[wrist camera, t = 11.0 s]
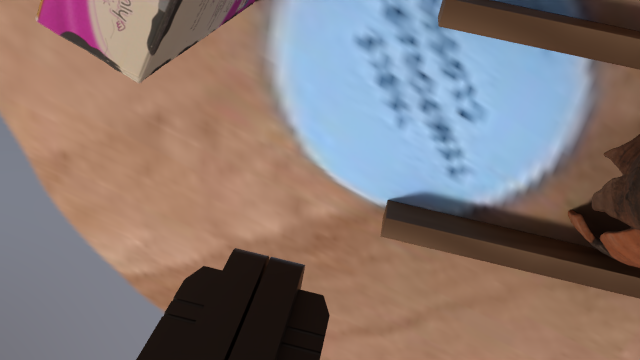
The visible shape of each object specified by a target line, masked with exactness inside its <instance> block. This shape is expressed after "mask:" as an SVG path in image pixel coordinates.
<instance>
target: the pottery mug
mask: <svg viewBox="0 0 640 360" xmlns="http://www.w3.org/2000/svg"><path fill="white" fill-rule="evenodd" d="M604 156H605V157H608V158H609V159H610V160H612V161H613V163H614V164H615V165H616V166H617V167H618V168H619V170H620V171H621V172H622V174H623V176H622V177H618V178H613V179H612V180H610V181H609V182H607V183H606V184H605V185H604V186H603V188H602V189H601V190H600V191H598V192H596V193H595V194H594V195H593V197H592V208H593V210H595V211H601V212H606V213H607V214H608V215H610V216H611V217H613V218H616V219H619V220H620V221H622V222H624V223H626V224H628V225H629V226H631V228H629V229H627V230H623V231H608V232H605V233H603V234H602V235H601V237H600V239H599V238H597V237H595V236H594V235H593V234H592V232H591V231H590V229H589V228H588V226H587V224H586V222H585V220H584V218H583V216H582V215H581V214H577V213H576V212H575V211H573V210H570V211H568V216H569V218H570V220H571V222H572V224H573V225H574V227H575V228H576V229H577V230H578V231H579V232H580V233H581V234H582V235H583V237H584V238H585V239H586V240H587V241H589V243H590V244H591V245H592V246H593V247H595V248H596V249H598V250H599V251H601V252H602V253H604V254H606V255H608V256H610V257H611V258H613V259H616V260H618V261H620V262H622V263H624V264H627V265H629V266H634V267H638V268H640V134H639V135H638V136H637V137H636V138H634V139H633V140H631V141H630V142H628V143H626V144H624V145H622V146H620V147H617V148H613V149H611V150H609V151H607V152H605V153H604Z"/></svg>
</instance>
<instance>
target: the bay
mask: <svg viewBox="0 0 640 360" xmlns="http://www.w3.org/2000/svg"><path fill="white" fill-rule="evenodd" d="M438 23H439V27H444V28H449V29H453V30H458V31H463V32H467V33H472V34H477V35H481V36H486V37H491V38H495V39H500V40H505V41H509V42H514V43H519V44H523V45H528V46H533V47H537V48H542V49H547V50H551V51H556V52H561V53H565V54H570V55H575V56H579V57H584V58H588V59H593V60H598V61H602V62H607V63H612V64H616V65H621V66H626V67H630V68H635V69H640V32H639V31H635V30H630V29H625V28H620V27H616V26H611V25H606V24H601V23H597V22H592V21H587V20H582V19H578V18H573V17H568V16H564V15H559V14H554V13H549V12H545V11H540V10H535V9H530V8H526V7H521V6H516V5H511V4H507V3H502V2H497V1H492V0H443V1H442V4H441V8H440V12H439V15H438ZM381 237H385V238H389V239H394V240H398V241H402V242H406V243H410V244H414V245H419V246H423V247H427V248H431V249H435V250H440V251H444V252H448V253H452V254H456V255H460V256H465V257H469V258H473V259H477V260H481V261H485V262H490V263H494V264H498V265H502V266H506V267H511V268H515V269H519V270H523V271H527V272H531V273H536V274H540V275H544V276H548V277H552V278H556V279H561V280H565V281H569V282H573V283H577V284H581V285H586V286H590V287H594V288H598V289H602V290H607V291H611V292H615V293H619V294H623V295H627V296H632V297H636V298H640V268H638V267H634V266H629V265H627V264H624V263H622V262H620V261H618V260H616V259H613V258H611V257H610V256H608V255H606V254H604V253H602V252H601V251H599V250H598V249H594V248H590V247H585V246H581V245H577V244H573V243H568V242H564V241H560V240H556V239H551V238H547V237H543V236H539V235H534V234H530V233H526V232H522V231H517V230H513V229H509V228H505V227H500V226H496V225H492V224H488V223H483V222H479V221H475V220H471V219H466V218H462V217H458V216H454V215H449V214H445V213H441V212H437V211H432V210H428V209H424V208H420V207H415V206H411V205H407V204H403V203H398V202H394V201H390V200H388V202H387V205H386V209H385V213H384V216H383V222H382V230H381Z"/></svg>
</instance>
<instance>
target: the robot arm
mask: <svg viewBox="0 0 640 360" xmlns="http://www.w3.org/2000/svg"><path fill="white" fill-rule="evenodd" d="M304 269H305V265H303V264H299V263H295V262H290V261H286V260H282V259H278V258H274V257H271V258H270V260H269V256H265V255H261V254H257V253H253V252H249V251H245V250H241V249H237V248H235V249H234V250H233V252H232V253H231V255H230V257H229V259H228V261H227V263H226V265H225V267H224V269H223V271H222V270H218V269H214V268H210V267H206V266H203V267H202V268H200V269H199V270H197V271H196V272H195V273H193V274H192V275H190V276H189V277H187V278H186V279H185V280H184V281H183V283H182V285H181V286H180V288H179V290H178V291H177V293H176V295H175V296H174V299H173V301H171V303H170V305H169V306H168V308H167V310H166V311H165V314H164V316H163V317H162V318H161V320H160V321H159V323H158V325H157V326H156V328H155V330H154V331H153V333H152V335H151V336H150V338H149V339H148V341H147V343H146V344H145V346H144V348H143V350H142V351H141V353H140V354H139V356H138V358H137V359H136V360H320V356H321V351H322V347H323V342H324V338H325V333H326V329H327V324H328V320H329V312H328V309H327V306H326V302H325V299H324V296H323V295H320V294H316V293H312V292H308V291H304V290H300V289H301V284H302V279H303V274H304Z"/></svg>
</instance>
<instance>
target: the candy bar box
mask: <svg viewBox="0 0 640 360" xmlns="http://www.w3.org/2000/svg"><path fill="white" fill-rule="evenodd" d="M254 2H255V0H41V2H40V5H39V9H38V13H37V15H36V21H37V22H38V23H40V24H42V25H43V26H45V27H46V28H48V29H50V30H51V31H53V32H54V33H56V34H58V35H59V36H61V37H63V38H65V39H67V40H68V41H70V42H72V43H74V44H76V45H77V46H79V47H81V48H83V49H85V50H87V51H88V52H89V53H91V54H92V55H94V56H96V57H97V58H99V59H101V60H102V61H104V62H105V63H107V64H108V65H110V66H111V67H112V68H114V69H115V70H117V71H119V72H121V73H122V74H124V75H126V76H128V77H129V78H131V79H132V80H134V81H135V82H137V83H141V82H142V81H143V80H144V79H146V78H147V77H148V76H150V75H151V74H153V73H154V72H155V71H157V70H158V69H159V68H161V67H162V66H163V65H165V64H166V63H168V62H170V61H171V60H173V59H174V58H175V57H177V56H178V55H180V54H182V53H183V52H184V51H186V50H187V49H189V48H190V47H191V46H193V45H194V44H196V43H197V42H199V41H200V40H202V39H203V38H205V37H206V36H208V35H209V34H210V33H211V32H213V31H214V30H216V29H217V28H219V27H220V26H221V25H223V24H224V23H226V22H227V21H229V20H230V19H232V18H233V17H234V16H236V15H237V14H239V13H240V12H242V11H243V10H244V9H246V8H247V7H249V6H250V5H252V4H253V3H254Z"/></svg>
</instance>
